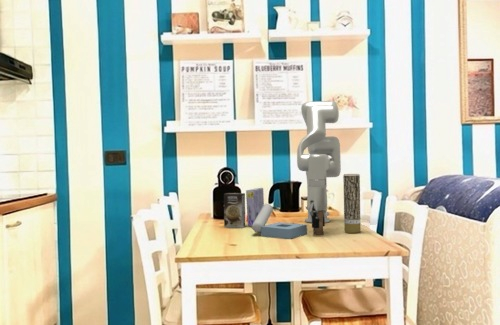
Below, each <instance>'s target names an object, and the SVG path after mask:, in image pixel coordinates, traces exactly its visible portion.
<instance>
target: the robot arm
mask: <svg viewBox="0 0 500 325" xmlns="http://www.w3.org/2000/svg"><path fill="white" fill-rule="evenodd" d="M300 109H301V115H302V119H303V121H304V122H305V126H306V135H305V136H304V137H303V138H302V139H301V140H300V142H299V144H298V146H297V151H296V152H297V153H296V164H297V168H298V170H299V171H301V172H305V176H306V186H307V187H306V188H307V196H306V197H307V198H306V199H307V200H306V210H307V217H306V218H304V222H305V223H310V224H311V228H312V229H314V228H319V219H318V214H319V211H321V210H323V228H325V226H326V223H330V222H331V219H330V218H329V217H328V216H330V215H331V213H330V212H329V211H328V195H327V186H328V185H327V182H328V181H327V178H337V177H338V178H339V176H340V175H341V173H342V172H341V169H342V168H341V167H342V166H341V164H342V162H341V144H340V142H341V141H340V140H339V138H338V137H337V136H327V130H326V124H335V123H337V122H338V121H339V118H340V116H339V115H340V113H339V106H338V104H337V102H336V101H334V100H324V101H323V100H321V101H319V100H317V101H316V100H314V101H306V102H304V103H302V105H301V108H300ZM306 149H307V152H308V153H304V151H305V150H306ZM314 209H315V210H316V211H314ZM314 212H316V214H315V213H314Z"/></svg>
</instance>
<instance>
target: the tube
mask: <svg viewBox="0 0 500 325" xmlns="http://www.w3.org/2000/svg"><path fill="white" fill-rule="evenodd" d="M273 211H274V207H273V206H272V205H271V204H269V203H264V206H262V209H261V211H260V212H259V214H258V216H257V218H256V219H255V221H254V223H253V224H252V227H251V229H252V230H253V232H255V233H260V234H261V227H262V226H266V225H267V222H268V220H269V219H270V216H271V214H272V213H273Z"/></svg>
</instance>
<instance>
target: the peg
mask: <svg viewBox="0 0 500 325" xmlns="http://www.w3.org/2000/svg"><path fill="white" fill-rule="evenodd" d="M314 211H316V210H315V209H314ZM314 213H315V214H316V212H314ZM318 219H319V228H313V236H324V227H323V210H321V211H319V214H318Z"/></svg>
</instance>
